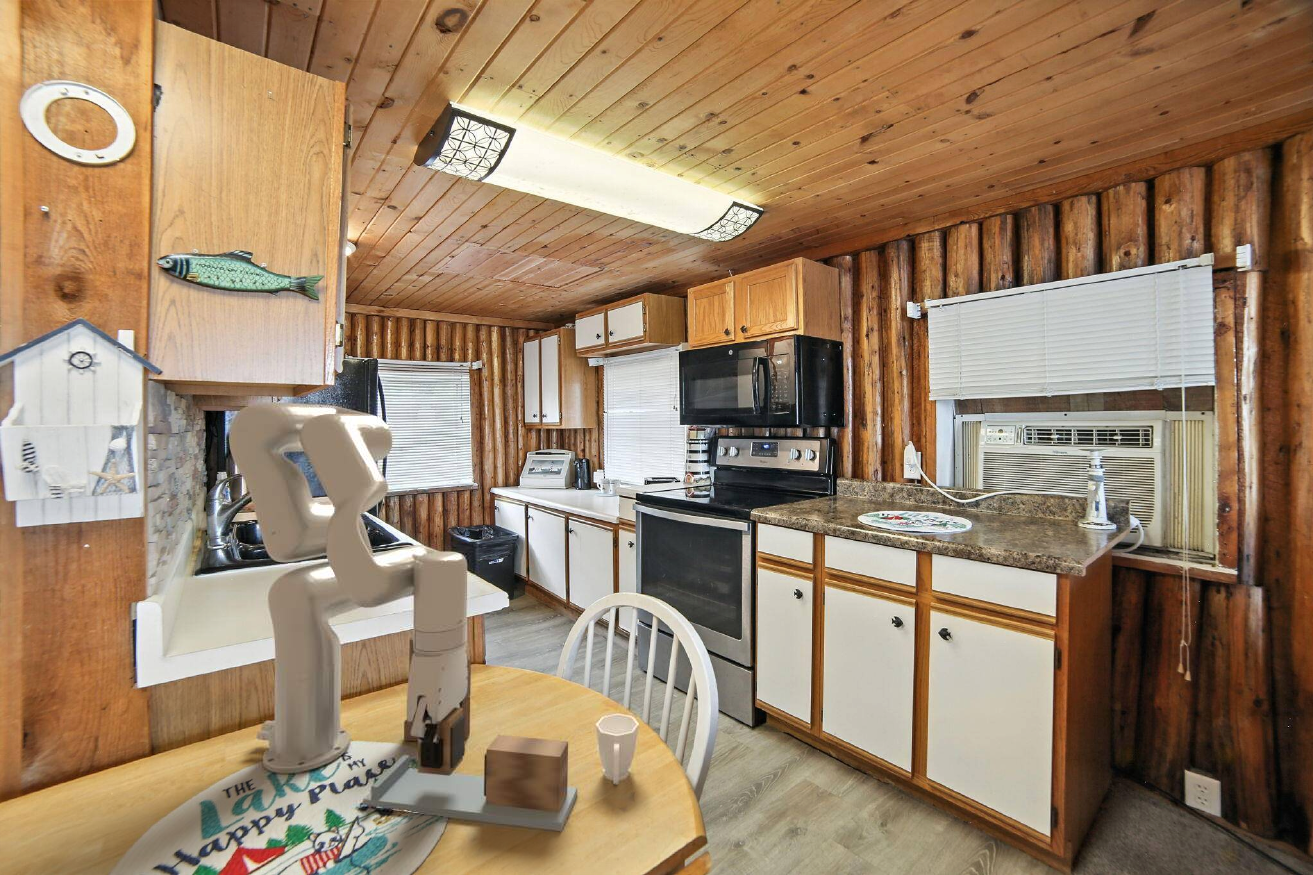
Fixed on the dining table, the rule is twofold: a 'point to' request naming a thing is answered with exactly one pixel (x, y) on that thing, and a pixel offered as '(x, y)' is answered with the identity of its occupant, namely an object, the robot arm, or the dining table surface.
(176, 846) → the dining table surface
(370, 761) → the dining table surface
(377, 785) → the rail
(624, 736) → the cup
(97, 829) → the dining table surface
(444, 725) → the brown rectangular block
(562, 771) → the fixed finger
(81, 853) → the dining table surface
